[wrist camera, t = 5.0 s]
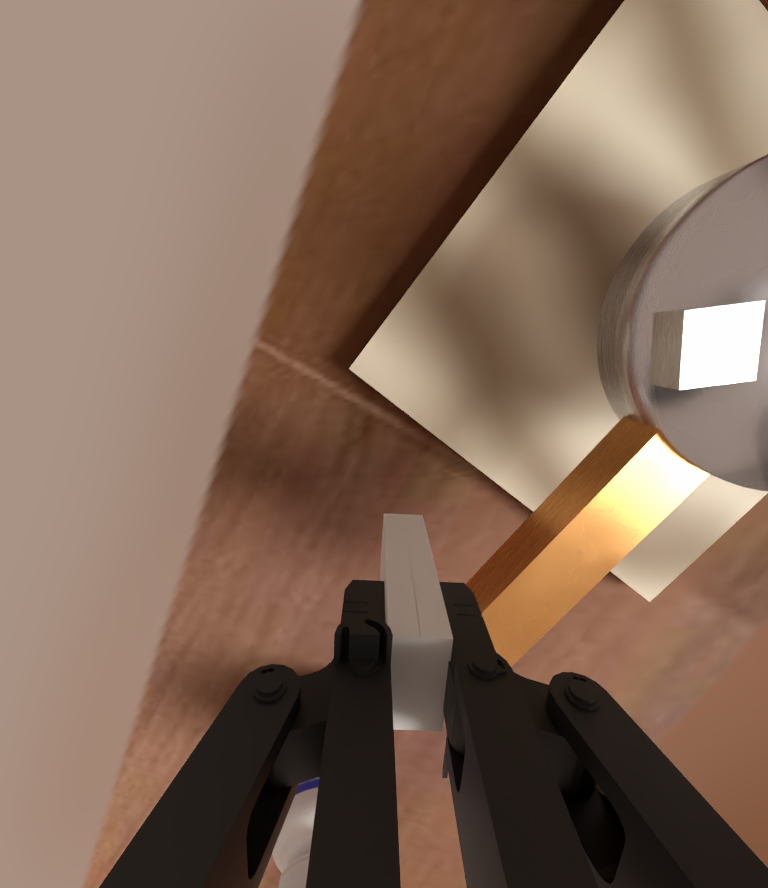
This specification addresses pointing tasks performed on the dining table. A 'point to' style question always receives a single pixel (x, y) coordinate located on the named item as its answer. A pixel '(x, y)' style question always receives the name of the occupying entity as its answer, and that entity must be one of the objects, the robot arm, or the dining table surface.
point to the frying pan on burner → (653, 405)
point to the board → (578, 261)
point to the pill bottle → (297, 837)
